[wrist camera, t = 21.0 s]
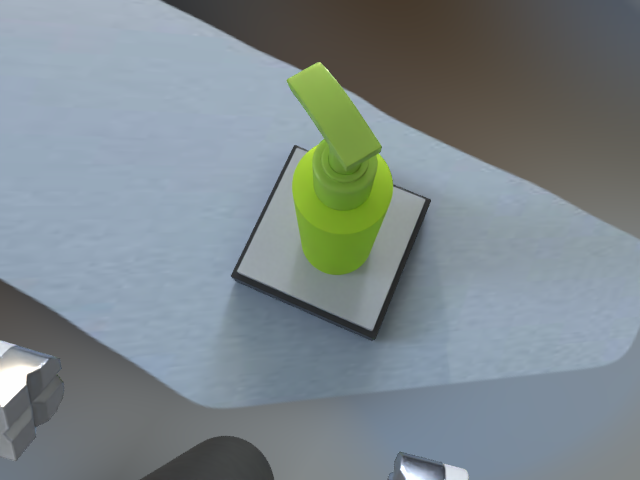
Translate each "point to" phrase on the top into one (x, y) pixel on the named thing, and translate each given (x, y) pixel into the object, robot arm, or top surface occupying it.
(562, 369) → the top surface
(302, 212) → the soap dispenser
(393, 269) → the kitchen scale
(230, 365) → the top surface
